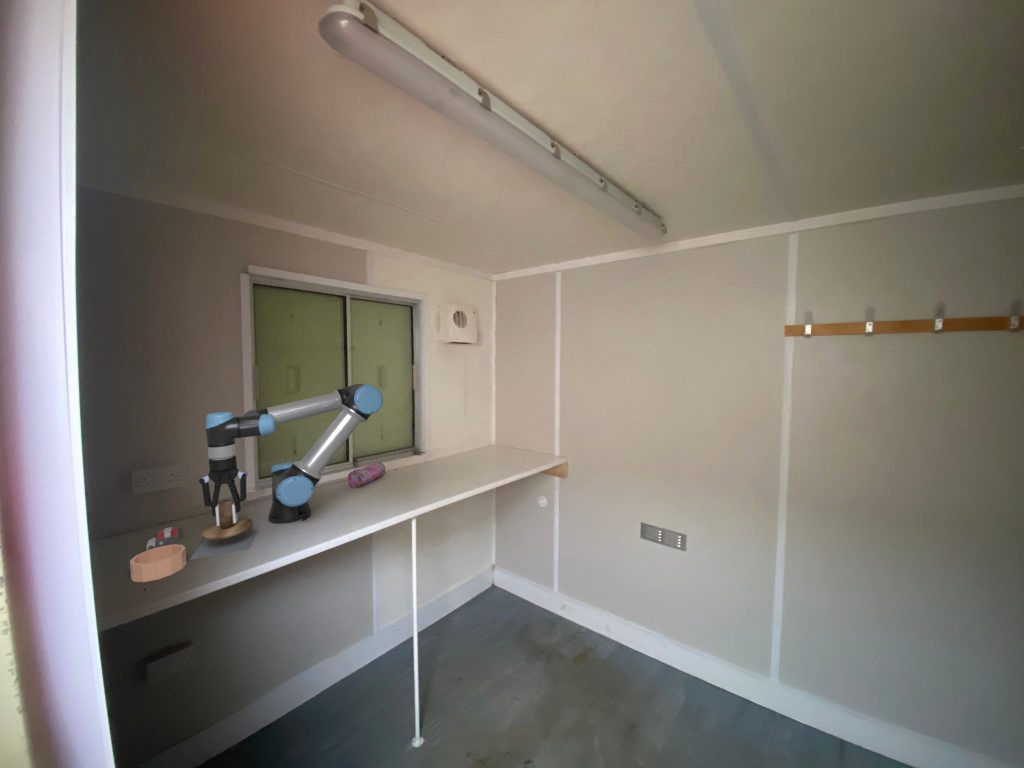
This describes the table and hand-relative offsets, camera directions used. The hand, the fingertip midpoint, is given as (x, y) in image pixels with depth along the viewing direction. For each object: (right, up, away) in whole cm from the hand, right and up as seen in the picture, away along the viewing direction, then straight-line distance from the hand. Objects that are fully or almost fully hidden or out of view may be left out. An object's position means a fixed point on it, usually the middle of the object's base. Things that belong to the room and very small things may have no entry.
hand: (227, 522), depth 131 cm
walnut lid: (0, -3, 0) cm, 3 cm away
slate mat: (0, -8, 0) cm, 8 cm away
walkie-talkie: (-24, -9, +2) cm, 25 cm away
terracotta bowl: (-8, -9, -16) cm, 21 cm away
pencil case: (+22, -4, +69) cm, 72 cm away
